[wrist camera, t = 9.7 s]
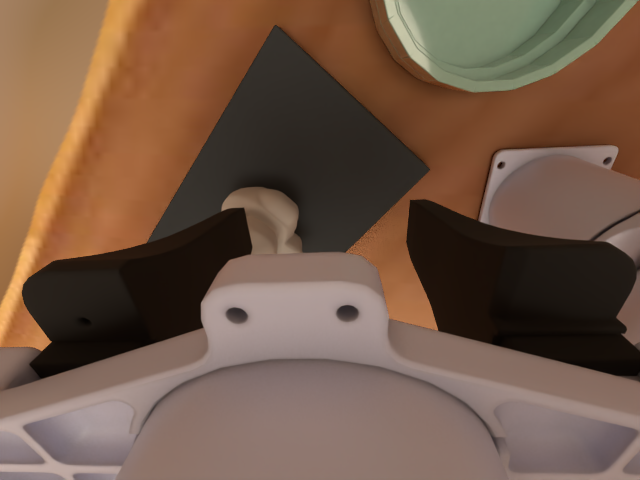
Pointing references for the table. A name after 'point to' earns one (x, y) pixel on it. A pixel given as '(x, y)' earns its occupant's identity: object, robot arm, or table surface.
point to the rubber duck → (268, 219)
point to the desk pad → (298, 153)
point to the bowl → (492, 38)
